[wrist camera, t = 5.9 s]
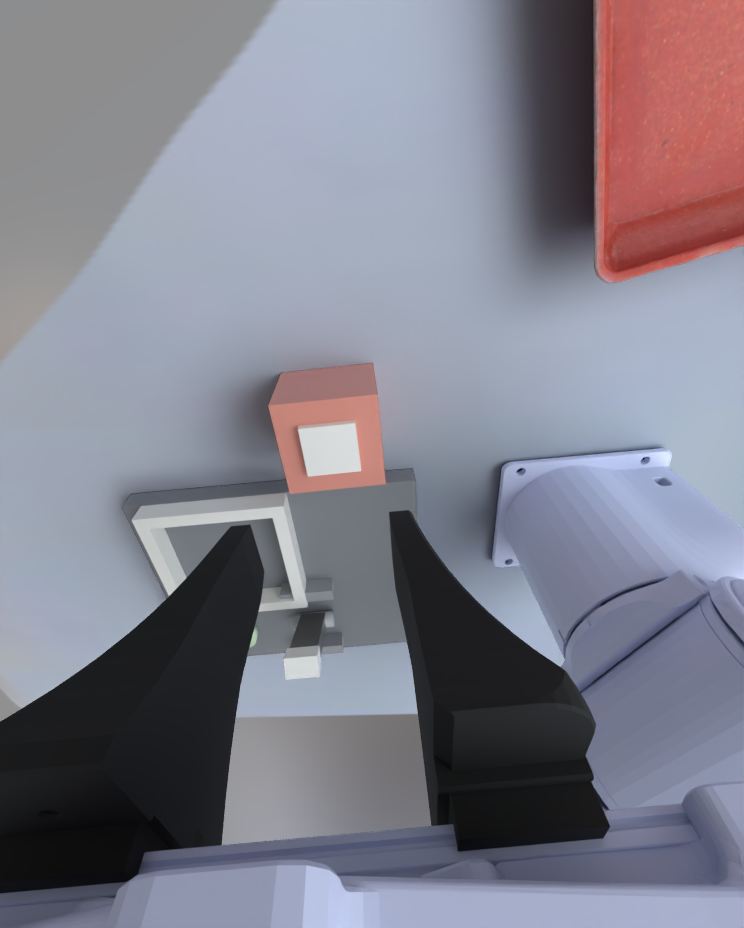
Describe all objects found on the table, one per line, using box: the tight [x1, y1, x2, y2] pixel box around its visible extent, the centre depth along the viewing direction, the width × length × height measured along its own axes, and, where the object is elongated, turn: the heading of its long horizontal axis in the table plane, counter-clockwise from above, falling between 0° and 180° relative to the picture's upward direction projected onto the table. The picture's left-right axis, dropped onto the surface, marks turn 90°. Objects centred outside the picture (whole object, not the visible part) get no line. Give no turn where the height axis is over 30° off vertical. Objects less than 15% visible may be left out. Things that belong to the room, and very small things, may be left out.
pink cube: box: [268, 363, 386, 494], centre depth 20 cm, size 4×4×4 cm
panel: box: [122, 468, 417, 656], centre depth 26 cm, size 16×14×2 cm
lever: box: [283, 611, 335, 680], centre depth 25 cm, size 3×1×6 cm, turn 94°
